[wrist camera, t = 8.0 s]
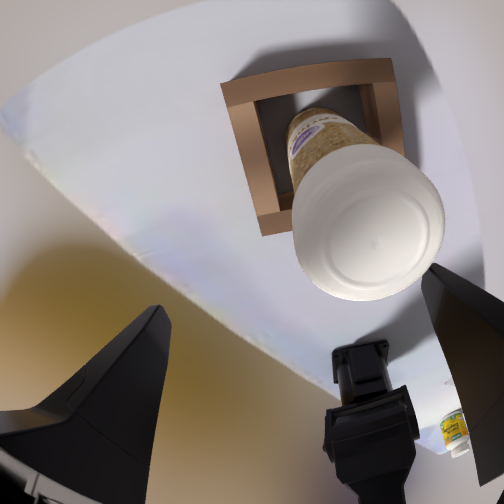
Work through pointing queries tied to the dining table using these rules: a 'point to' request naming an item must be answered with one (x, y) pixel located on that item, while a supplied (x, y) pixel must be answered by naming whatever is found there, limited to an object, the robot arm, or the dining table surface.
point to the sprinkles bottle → (358, 210)
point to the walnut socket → (298, 80)
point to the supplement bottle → (455, 433)
